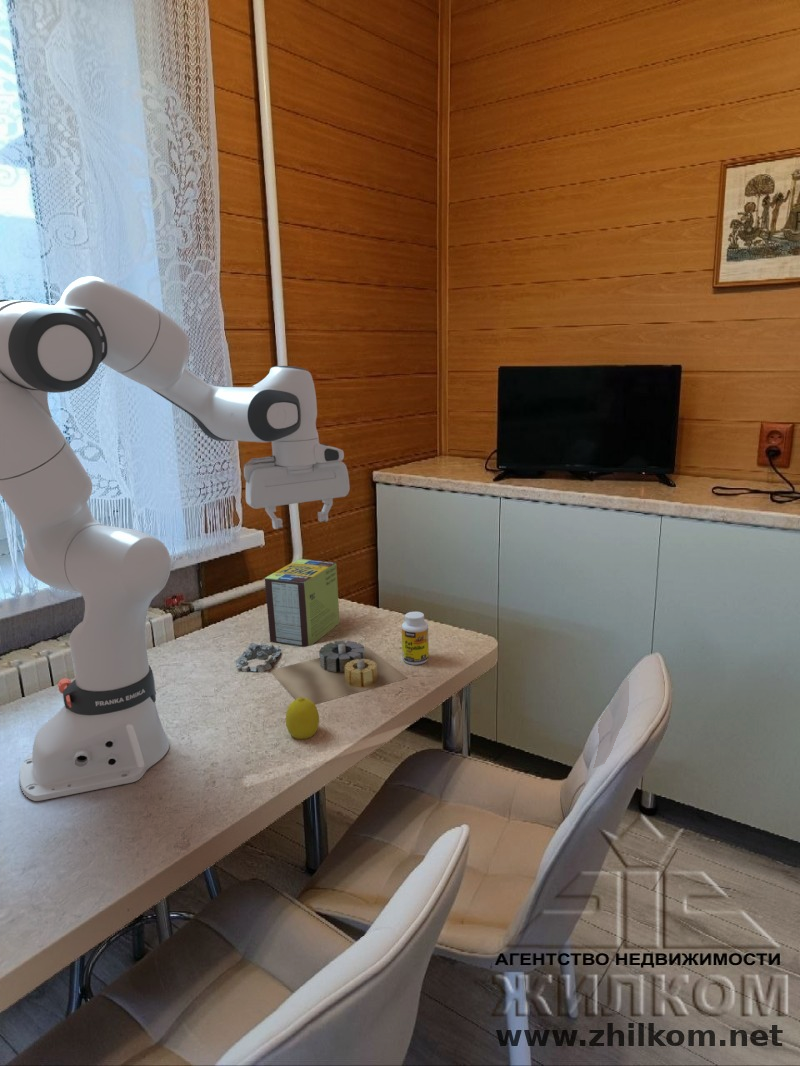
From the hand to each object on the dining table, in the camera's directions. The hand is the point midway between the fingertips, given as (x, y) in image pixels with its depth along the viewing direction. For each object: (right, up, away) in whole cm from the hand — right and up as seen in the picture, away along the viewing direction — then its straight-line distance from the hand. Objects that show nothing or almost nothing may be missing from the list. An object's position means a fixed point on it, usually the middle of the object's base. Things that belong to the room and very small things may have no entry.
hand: (300, 524), depth 136 cm
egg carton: (-10, -30, +11) cm, 34 cm away
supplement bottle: (+23, -29, +12) cm, 38 cm away
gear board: (+7, -31, +3) cm, 32 cm away
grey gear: (+7, -28, +8) cm, 30 cm away
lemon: (+3, -37, -18) cm, 41 cm away
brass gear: (+12, -30, 0) cm, 32 cm away
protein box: (-3, -25, +28) cm, 38 cm away
